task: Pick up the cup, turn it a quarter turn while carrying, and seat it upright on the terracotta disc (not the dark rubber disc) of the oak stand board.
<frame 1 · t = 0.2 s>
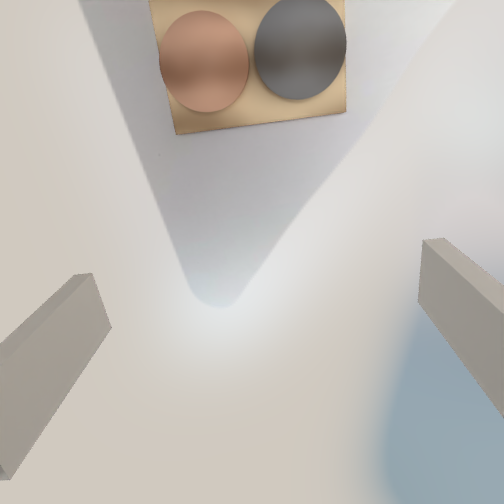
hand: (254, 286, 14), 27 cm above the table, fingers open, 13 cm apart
stand board: (252, 60, 35), on the table
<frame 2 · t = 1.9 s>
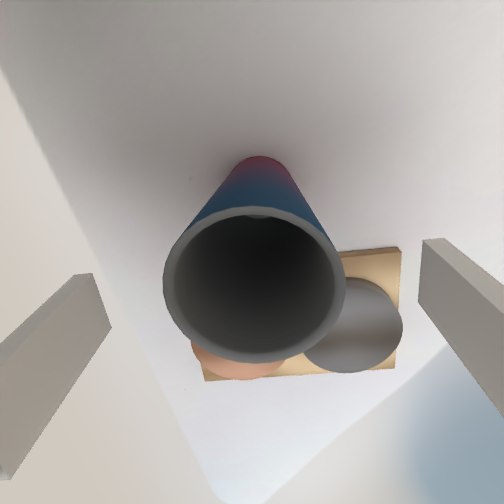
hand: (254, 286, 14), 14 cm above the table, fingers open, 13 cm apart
cup: (259, 188, 27), on the table
stand board: (291, 316, 31), on the table
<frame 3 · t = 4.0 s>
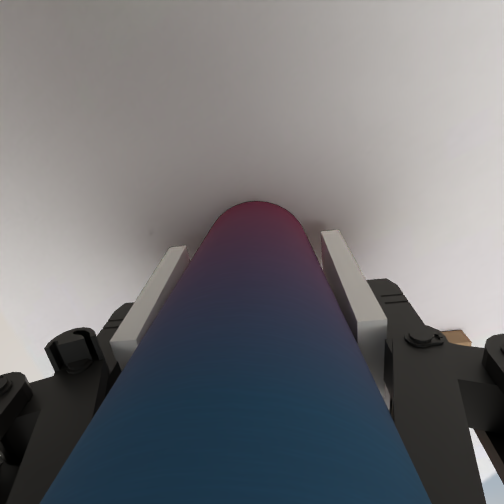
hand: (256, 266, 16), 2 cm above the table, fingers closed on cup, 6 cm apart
cup: (257, 247, 17), on the table, touching gripper
stand board: (303, 418, 22), on the table
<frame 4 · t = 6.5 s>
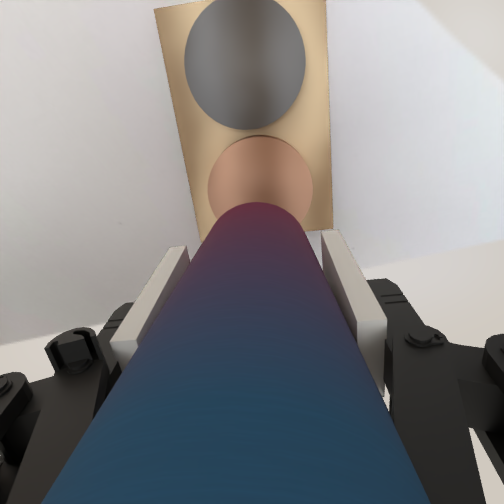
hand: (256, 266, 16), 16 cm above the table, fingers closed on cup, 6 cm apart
cup: (257, 248, 17), point 14 cm above the table, touching gripper
stand board: (254, 130, 28), on the table
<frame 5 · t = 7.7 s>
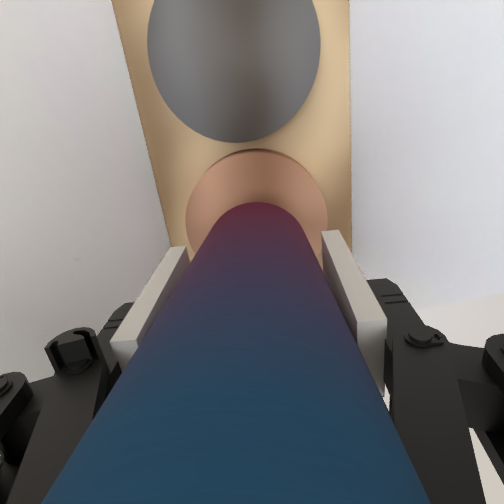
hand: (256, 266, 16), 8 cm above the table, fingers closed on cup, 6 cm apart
cup: (257, 248, 17), point 6 cm above the table, touching gripper
stand board: (248, 141, 21), on the table
when the fingers open (6 cm above the table, at t = 8.9 s): cup stays where it is, resting on stand board.
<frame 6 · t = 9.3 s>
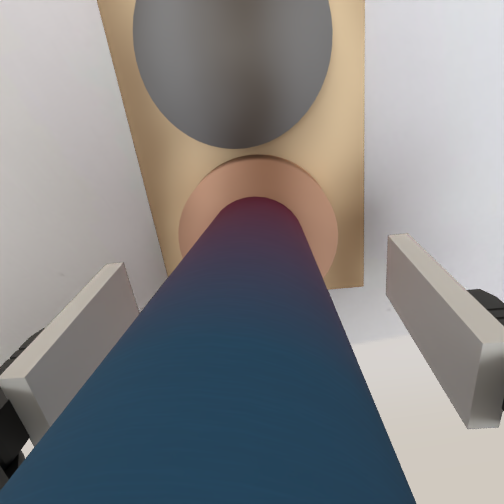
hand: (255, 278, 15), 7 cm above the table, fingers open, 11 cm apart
cup: (256, 241, 18), point 3 cm above the table, touching stand board
stand board: (249, 146, 19), on the table
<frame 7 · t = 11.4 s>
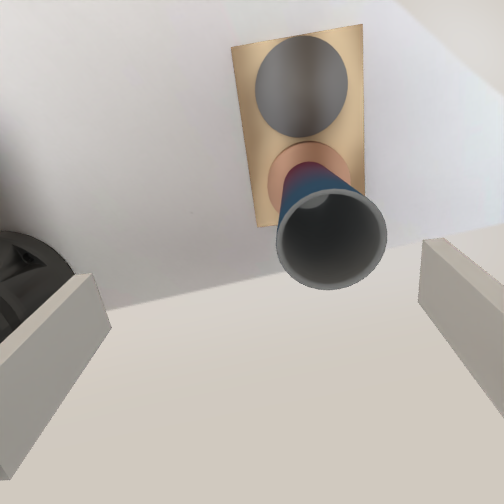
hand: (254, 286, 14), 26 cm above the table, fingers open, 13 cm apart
cup: (307, 186, 35), point 3 cm above the table, touching stand board
stand board: (302, 136, 36), on the table
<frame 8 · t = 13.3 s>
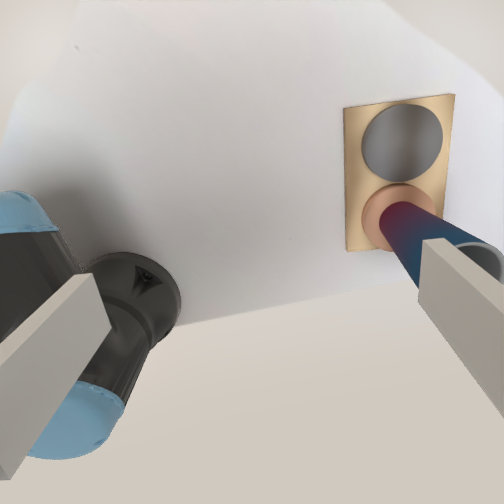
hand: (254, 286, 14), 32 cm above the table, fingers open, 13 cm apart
cup: (399, 220, 42), point 3 cm above the table, touching stand board
stand board: (393, 178, 43), on the table
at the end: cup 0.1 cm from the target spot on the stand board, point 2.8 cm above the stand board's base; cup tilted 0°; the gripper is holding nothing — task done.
